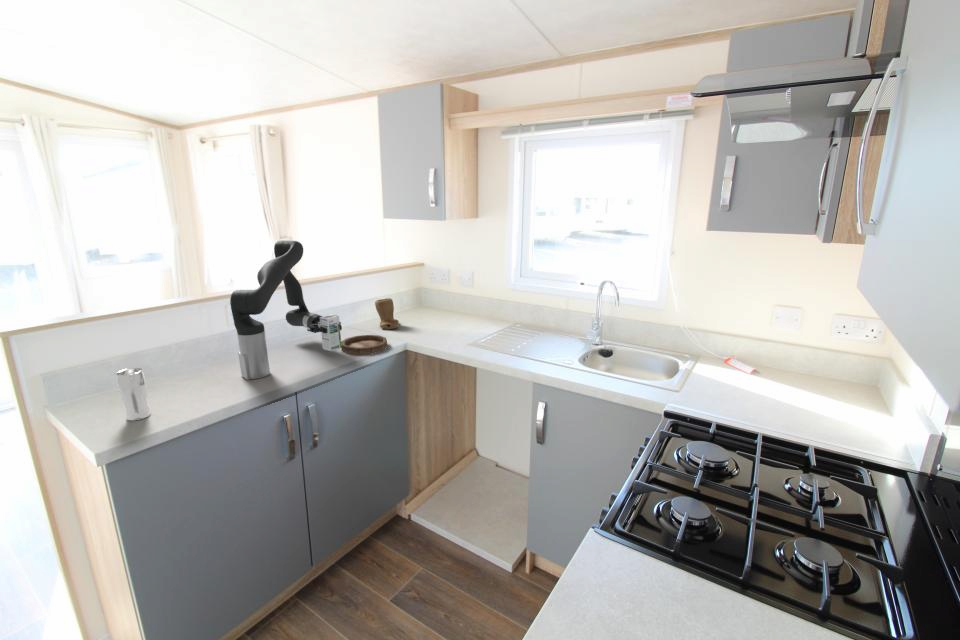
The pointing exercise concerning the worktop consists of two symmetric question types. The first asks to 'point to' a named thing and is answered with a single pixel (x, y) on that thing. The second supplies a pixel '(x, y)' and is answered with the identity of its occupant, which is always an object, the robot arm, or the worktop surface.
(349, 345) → the round tray
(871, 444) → the worktop surface
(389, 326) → the tan boot
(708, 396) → the worktop surface
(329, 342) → the syrup box
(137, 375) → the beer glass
